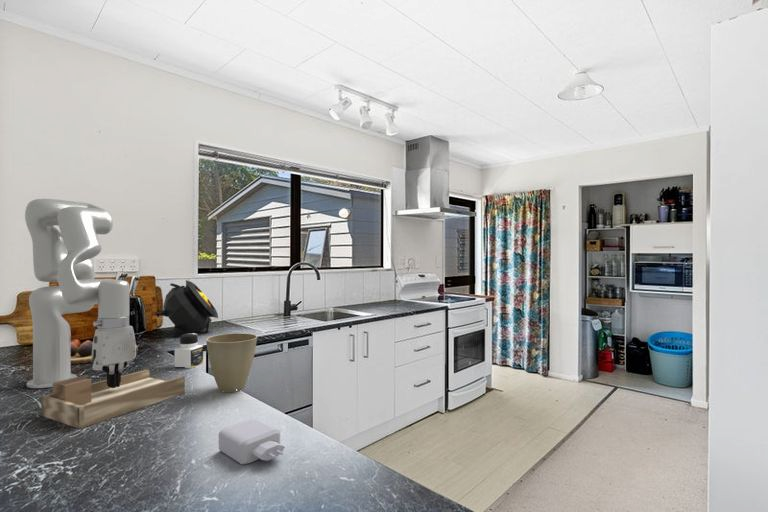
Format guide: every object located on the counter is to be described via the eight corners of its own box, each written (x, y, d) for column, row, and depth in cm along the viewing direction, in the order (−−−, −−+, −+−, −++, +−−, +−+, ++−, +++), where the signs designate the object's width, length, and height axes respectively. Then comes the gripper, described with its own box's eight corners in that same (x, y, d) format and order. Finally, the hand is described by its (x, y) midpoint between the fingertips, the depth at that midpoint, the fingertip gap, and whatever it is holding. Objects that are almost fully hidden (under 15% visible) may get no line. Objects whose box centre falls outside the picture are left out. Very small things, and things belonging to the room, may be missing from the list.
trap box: (41, 415, 104) (41, 396, 104) (147, 384, 129) (147, 369, 129) (79, 428, 96) (79, 407, 96) (184, 393, 120) (184, 376, 121)
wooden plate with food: (145, 345, 190) (145, 327, 190) (125, 360, 159) (125, 340, 160) (64, 352, 180) (64, 333, 180) (26, 369, 149) (26, 347, 149)
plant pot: (210, 400, 114) (210, 344, 114) (202, 386, 127) (202, 336, 127) (263, 391, 122) (262, 338, 122) (250, 378, 135) (250, 331, 135)
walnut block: (52, 405, 104) (52, 382, 104) (78, 398, 109) (78, 376, 109) (65, 409, 101) (65, 385, 101) (91, 402, 106) (91, 379, 107)
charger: (257, 478, 74) (218, 452, 84) (298, 459, 81) (257, 437, 91) (257, 452, 74) (218, 430, 84) (298, 435, 81) (257, 416, 91)
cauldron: (169, 320, 231) (206, 293, 239) (191, 352, 217) (229, 322, 225) (140, 296, 208) (182, 267, 217) (162, 330, 195) (206, 298, 203)
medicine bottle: (191, 368, 147) (191, 336, 148) (174, 367, 149) (174, 335, 149) (203, 363, 154) (203, 332, 155) (187, 362, 156) (187, 332, 156)
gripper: (92, 328, 107) (92, 396, 107) (147, 320, 120) (147, 381, 120) (77, 326, 111) (77, 392, 111) (132, 318, 124) (132, 377, 124)
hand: (113, 386), depth 116 cm, fingers closed
